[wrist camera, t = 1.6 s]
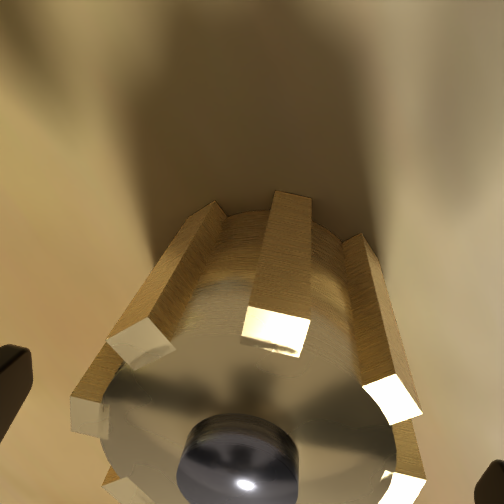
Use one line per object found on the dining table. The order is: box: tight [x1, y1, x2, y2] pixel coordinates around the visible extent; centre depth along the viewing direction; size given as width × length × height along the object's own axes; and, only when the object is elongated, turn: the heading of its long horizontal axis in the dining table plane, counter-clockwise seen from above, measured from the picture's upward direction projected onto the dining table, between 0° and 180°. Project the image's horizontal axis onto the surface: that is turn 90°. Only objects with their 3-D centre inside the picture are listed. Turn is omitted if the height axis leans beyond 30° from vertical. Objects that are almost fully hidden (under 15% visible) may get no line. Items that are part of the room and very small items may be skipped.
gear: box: [70, 190, 426, 504], centre depth 9 cm, size 6×6×6 cm
